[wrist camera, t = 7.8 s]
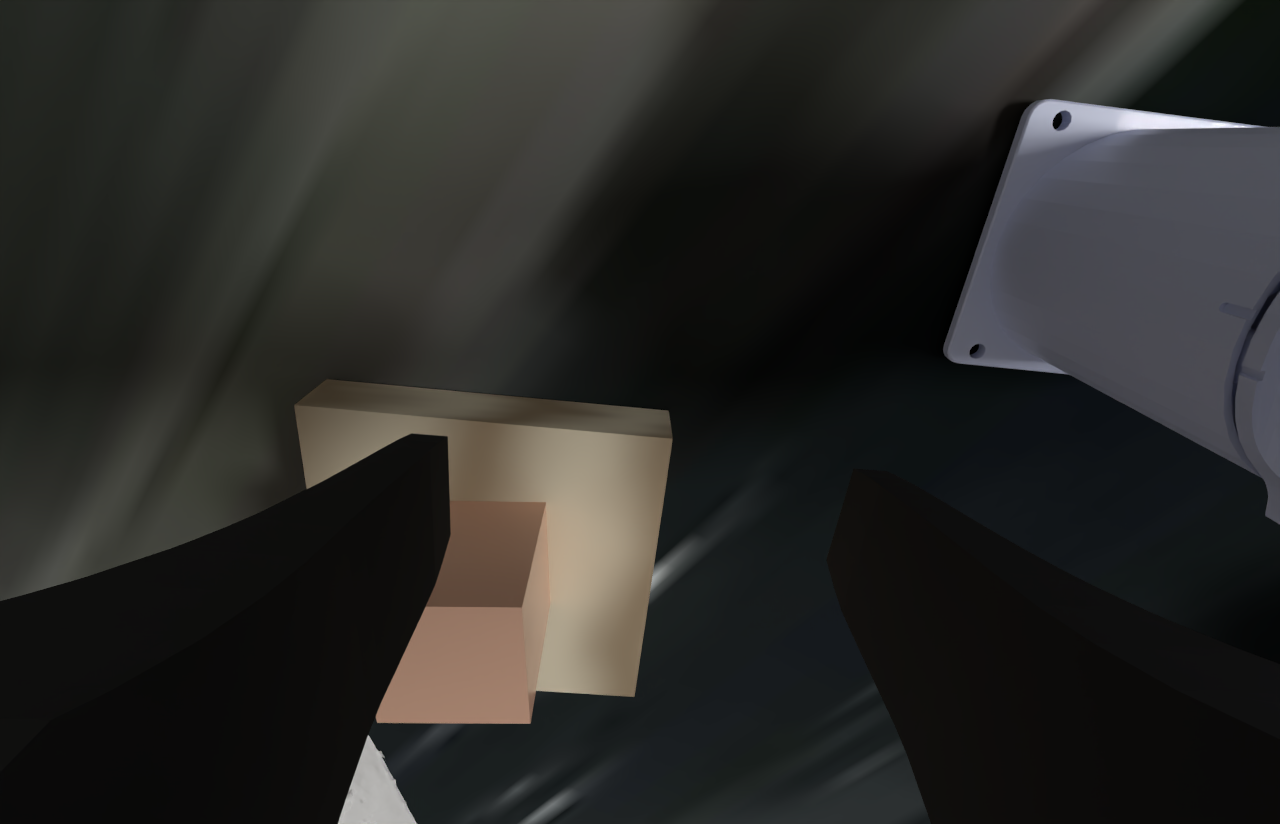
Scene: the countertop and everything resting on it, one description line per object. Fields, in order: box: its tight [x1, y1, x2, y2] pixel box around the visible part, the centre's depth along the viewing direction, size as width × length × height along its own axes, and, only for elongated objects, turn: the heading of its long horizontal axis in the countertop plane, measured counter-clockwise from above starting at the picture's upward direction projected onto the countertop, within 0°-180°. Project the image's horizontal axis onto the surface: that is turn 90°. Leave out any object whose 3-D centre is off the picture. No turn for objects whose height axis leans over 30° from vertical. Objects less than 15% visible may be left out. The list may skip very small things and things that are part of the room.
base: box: [294, 379, 673, 697], centre depth 22 cm, size 12×12×2 cm
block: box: [376, 501, 551, 724], centre depth 19 cm, size 4×4×5 cm
